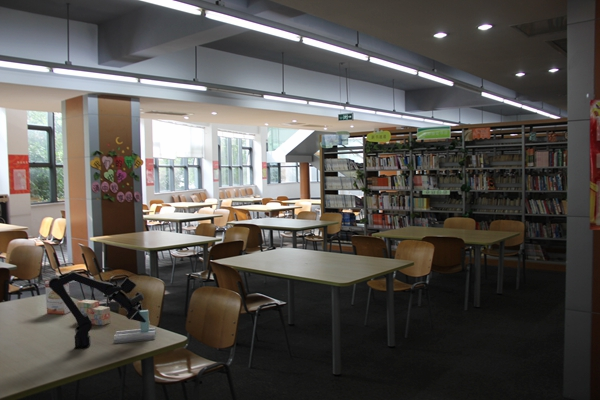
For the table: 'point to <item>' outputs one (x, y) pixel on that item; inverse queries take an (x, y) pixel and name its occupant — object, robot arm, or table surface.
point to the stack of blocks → (95, 311)
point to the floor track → (134, 335)
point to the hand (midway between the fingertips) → (146, 319)
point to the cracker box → (55, 300)
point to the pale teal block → (145, 325)
